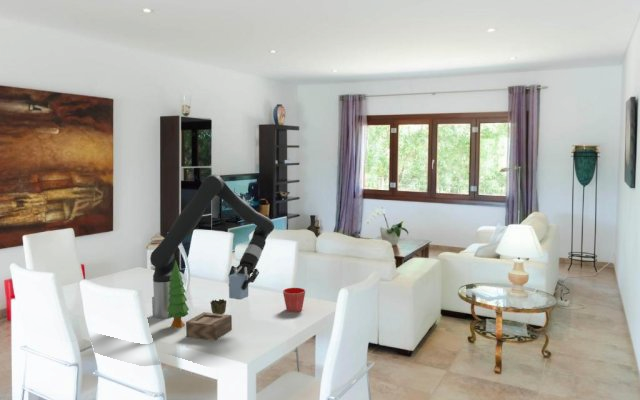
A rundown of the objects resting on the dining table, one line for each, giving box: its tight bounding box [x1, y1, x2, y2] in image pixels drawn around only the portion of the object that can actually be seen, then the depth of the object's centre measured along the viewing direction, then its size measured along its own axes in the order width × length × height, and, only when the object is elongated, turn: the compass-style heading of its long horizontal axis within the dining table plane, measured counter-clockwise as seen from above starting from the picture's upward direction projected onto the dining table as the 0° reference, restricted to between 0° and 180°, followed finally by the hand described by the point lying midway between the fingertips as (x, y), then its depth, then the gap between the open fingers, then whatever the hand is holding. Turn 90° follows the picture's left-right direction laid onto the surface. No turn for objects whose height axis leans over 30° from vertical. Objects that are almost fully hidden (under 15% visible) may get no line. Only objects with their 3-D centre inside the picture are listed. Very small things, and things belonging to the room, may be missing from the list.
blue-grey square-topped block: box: [228, 273, 249, 301], centre depth 231 cm, size 6×6×10 cm
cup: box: [210, 298, 227, 314], centre depth 247 cm, size 8×7×8 cm
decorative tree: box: [167, 259, 190, 329], centre depth 234 cm, size 10×9×30 cm
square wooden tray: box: [185, 312, 233, 341], centre depth 225 cm, size 14×14×7 cm
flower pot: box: [282, 287, 306, 313], centre depth 259 cm, size 11×11×10 cm
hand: (236, 288), depth 229 cm, fingers closed on blue-grey square-topped block, 6 cm apart
